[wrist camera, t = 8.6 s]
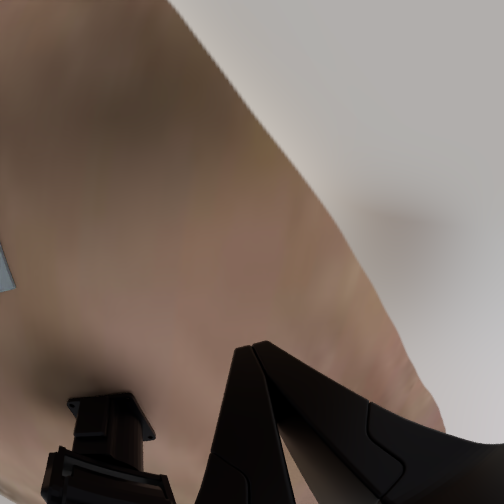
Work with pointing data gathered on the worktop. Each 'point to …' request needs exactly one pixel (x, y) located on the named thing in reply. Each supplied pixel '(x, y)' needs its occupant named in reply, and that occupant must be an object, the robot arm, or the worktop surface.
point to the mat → (5, 274)
